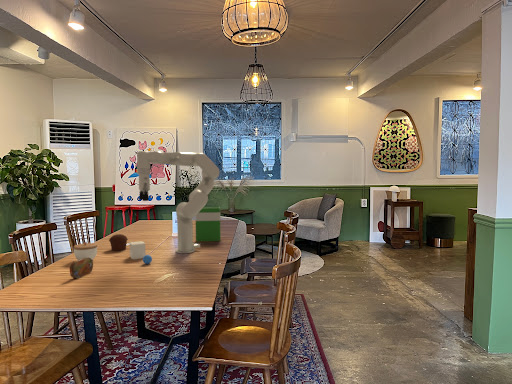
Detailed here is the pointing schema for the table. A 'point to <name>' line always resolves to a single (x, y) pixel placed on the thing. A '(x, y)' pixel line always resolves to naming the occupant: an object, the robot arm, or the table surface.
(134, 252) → the beige cube
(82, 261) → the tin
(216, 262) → the table surface
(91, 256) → the lidded bowl
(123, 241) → the muffin
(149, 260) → the ball
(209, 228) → the hardback book
